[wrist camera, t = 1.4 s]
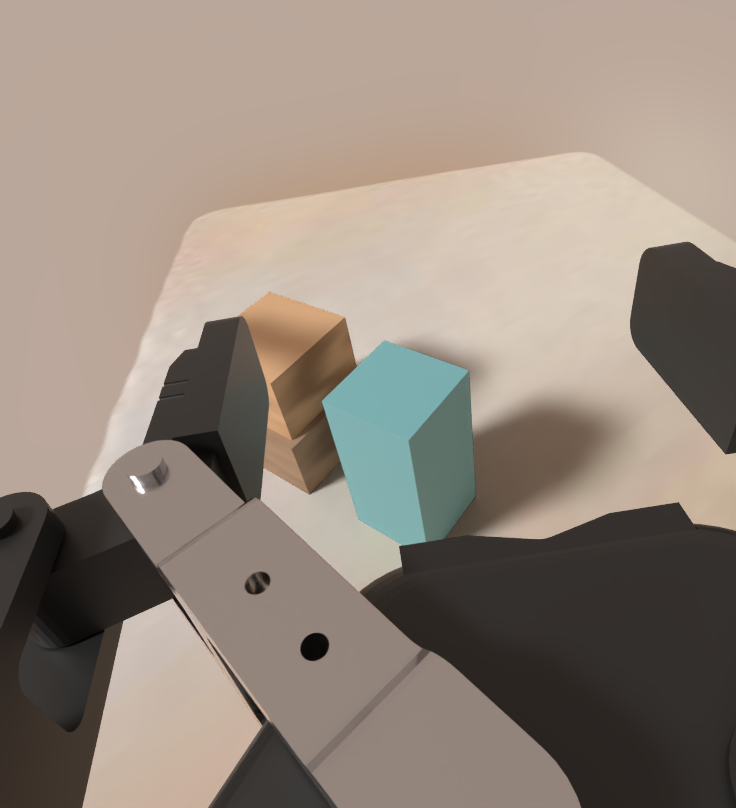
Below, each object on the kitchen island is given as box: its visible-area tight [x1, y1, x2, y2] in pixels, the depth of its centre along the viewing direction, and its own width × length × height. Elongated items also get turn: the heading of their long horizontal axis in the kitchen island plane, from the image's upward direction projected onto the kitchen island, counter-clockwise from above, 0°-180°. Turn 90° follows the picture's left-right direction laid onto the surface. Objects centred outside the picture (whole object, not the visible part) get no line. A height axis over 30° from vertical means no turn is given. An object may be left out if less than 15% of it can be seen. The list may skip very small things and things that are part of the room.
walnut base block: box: [263, 409, 340, 495], centre depth 42 cm, size 8×8×5 cm
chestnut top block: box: [197, 292, 357, 440], centre depth 38 cm, size 7×7×5 cm
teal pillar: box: [322, 341, 476, 545], centre depth 33 cm, size 6×6×11 cm
